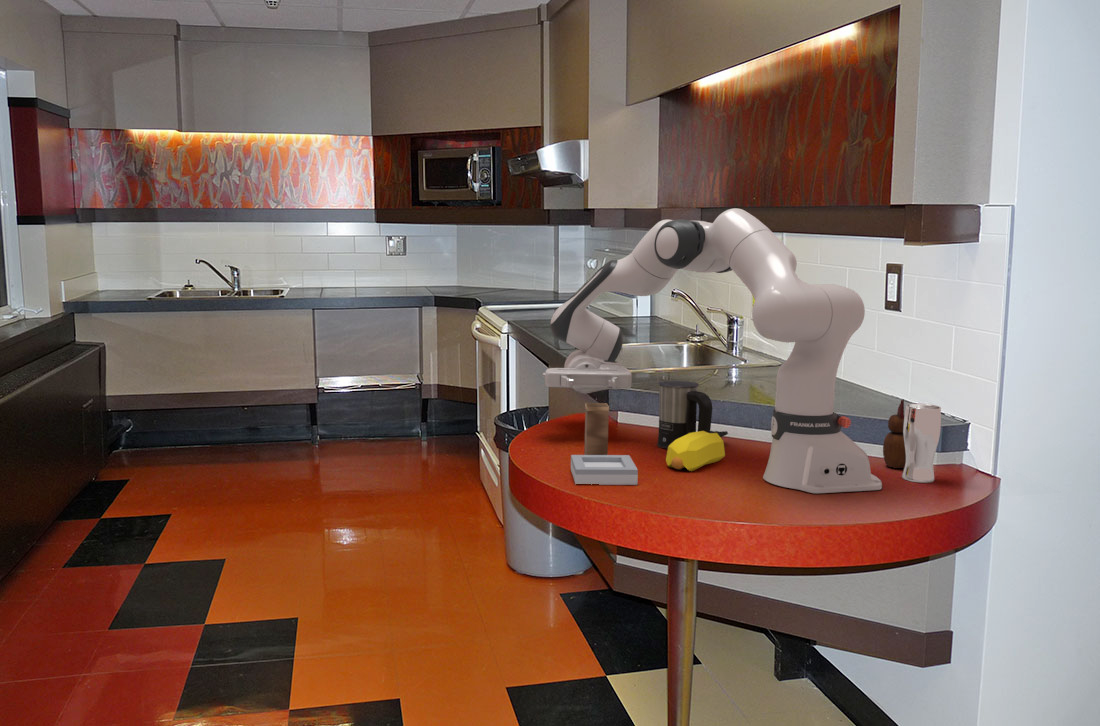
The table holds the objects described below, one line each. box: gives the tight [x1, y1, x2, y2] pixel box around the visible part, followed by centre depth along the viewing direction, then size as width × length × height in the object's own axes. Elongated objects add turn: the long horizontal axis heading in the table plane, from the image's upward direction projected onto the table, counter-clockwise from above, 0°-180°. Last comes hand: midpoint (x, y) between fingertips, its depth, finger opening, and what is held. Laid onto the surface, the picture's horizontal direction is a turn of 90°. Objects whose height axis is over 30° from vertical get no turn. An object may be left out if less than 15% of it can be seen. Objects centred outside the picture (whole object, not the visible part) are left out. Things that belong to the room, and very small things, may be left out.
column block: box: [583, 402, 610, 455], centre depth 196 cm, size 5×5×12 cm
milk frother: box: [656, 380, 729, 450], centre depth 212 cm, size 14×16×15 cm
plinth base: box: [570, 454, 639, 486], centre depth 183 cm, size 12×12×3 cm
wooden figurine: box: [882, 398, 905, 469], centre depth 195 cm, size 7×6×15 cm
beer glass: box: [901, 402, 942, 484], centre depth 185 cm, size 7×7×15 cm
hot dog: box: [665, 431, 726, 472], centre depth 195 cm, size 18×7×8 cm
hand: (590, 383), depth 207 cm, fingers open, 8 cm apart
